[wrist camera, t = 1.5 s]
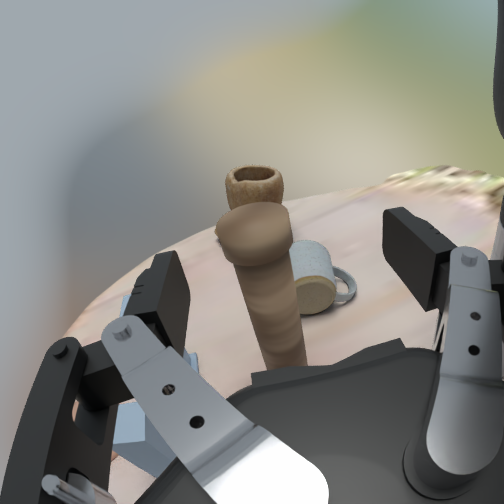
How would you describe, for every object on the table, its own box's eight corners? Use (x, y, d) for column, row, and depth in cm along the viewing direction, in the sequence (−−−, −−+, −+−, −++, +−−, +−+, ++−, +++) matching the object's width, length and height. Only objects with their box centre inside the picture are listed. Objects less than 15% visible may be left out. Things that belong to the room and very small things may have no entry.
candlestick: (328, 382, 32) (312, 204, 20) (300, 422, 29) (260, 252, 17) (286, 364, 36) (245, 195, 24) (257, 399, 32) (191, 234, 20)
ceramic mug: (286, 322, 41) (278, 279, 37) (282, 284, 48) (274, 242, 44) (362, 309, 40) (364, 265, 36) (348, 272, 47) (348, 230, 43)
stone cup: (306, 246, 55) (293, 167, 47) (247, 275, 52) (223, 193, 44) (266, 218, 67) (251, 152, 59) (215, 239, 64) (194, 172, 56)
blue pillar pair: (215, 489, 24) (155, 448, 17) (169, 494, 24) (95, 453, 16) (197, 355, 40) (158, 282, 33) (163, 363, 39) (118, 293, 32)
